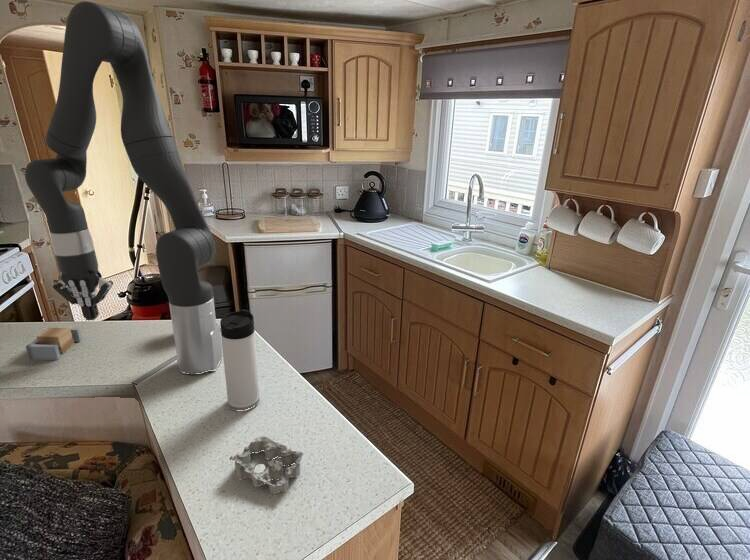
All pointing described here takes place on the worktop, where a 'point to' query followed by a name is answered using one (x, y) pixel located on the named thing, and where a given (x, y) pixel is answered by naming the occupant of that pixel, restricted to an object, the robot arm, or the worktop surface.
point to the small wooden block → (57, 338)
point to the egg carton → (269, 463)
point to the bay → (49, 348)
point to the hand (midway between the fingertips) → (92, 318)
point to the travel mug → (240, 359)
